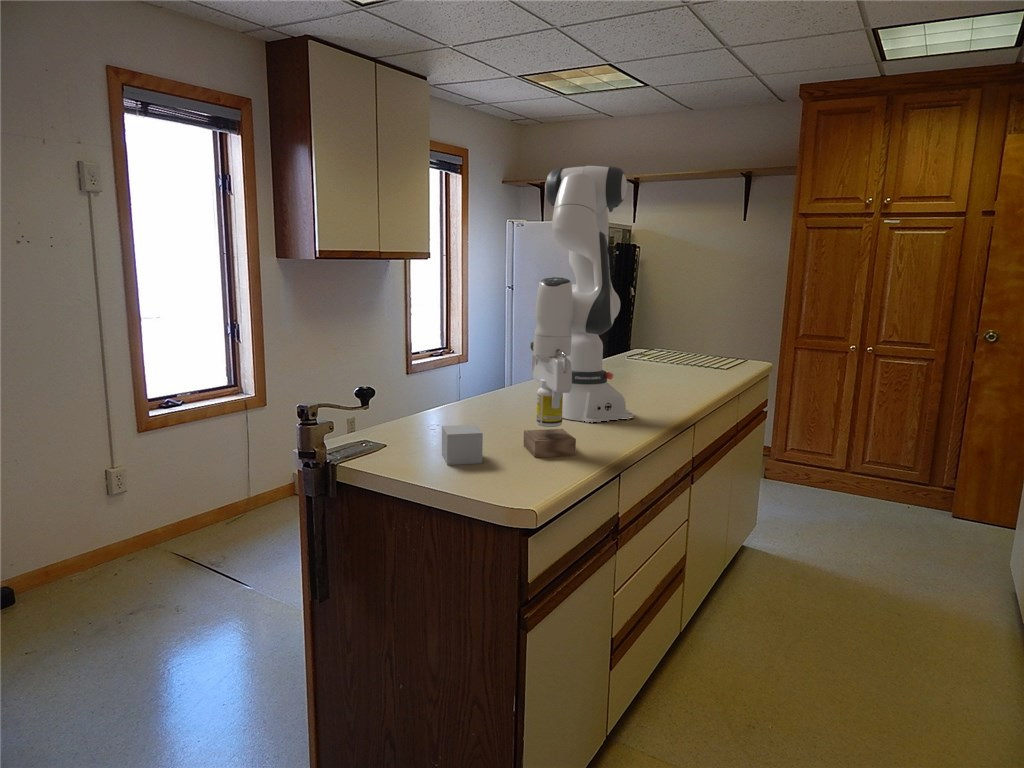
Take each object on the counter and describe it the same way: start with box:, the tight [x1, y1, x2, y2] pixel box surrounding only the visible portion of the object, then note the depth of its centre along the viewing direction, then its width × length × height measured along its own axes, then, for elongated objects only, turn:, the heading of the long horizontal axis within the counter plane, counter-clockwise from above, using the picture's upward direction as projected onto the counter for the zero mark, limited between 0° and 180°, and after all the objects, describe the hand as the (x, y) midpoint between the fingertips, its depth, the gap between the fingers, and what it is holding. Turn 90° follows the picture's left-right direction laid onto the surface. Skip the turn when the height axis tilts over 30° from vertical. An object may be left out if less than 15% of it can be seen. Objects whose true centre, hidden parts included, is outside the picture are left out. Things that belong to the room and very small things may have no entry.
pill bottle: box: [536, 379, 563, 428], centre depth 158 cm, size 6×6×11 cm
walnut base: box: [523, 428, 577, 458], centre depth 160 cm, size 10×10×4 cm
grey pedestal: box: [441, 424, 484, 466], centre depth 151 cm, size 8×8×7 cm
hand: (549, 404), depth 158 cm, fingers closed on pill bottle, 6 cm apart
